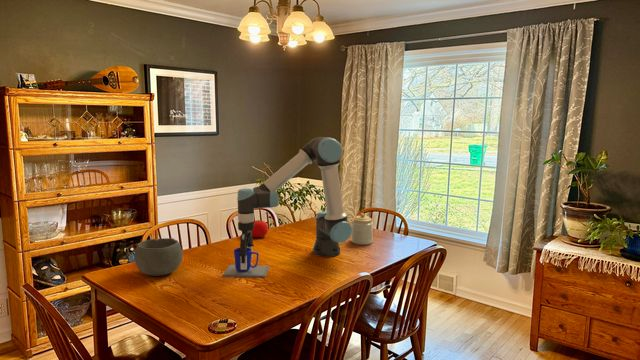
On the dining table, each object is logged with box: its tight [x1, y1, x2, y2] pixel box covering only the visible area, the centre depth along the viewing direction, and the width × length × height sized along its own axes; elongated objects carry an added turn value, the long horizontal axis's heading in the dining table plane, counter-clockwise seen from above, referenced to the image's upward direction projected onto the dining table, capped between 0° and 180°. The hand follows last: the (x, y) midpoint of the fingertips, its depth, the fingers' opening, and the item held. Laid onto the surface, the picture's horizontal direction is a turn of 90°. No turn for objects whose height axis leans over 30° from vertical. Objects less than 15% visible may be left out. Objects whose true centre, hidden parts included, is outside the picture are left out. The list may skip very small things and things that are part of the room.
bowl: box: [134, 237, 183, 277], centre depth 203 cm, size 21×21×15 cm
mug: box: [233, 247, 260, 272], centre depth 206 cm, size 8×12×10 cm
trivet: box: [221, 264, 270, 278], centre depth 207 cm, size 20×14×1 cm
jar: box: [350, 212, 374, 246], centre depth 258 cm, size 13×13×18 cm
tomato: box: [251, 219, 269, 239], centre depth 267 cm, size 11×12×10 cm
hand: (246, 264), depth 207 cm, fingers open, 13 cm apart
